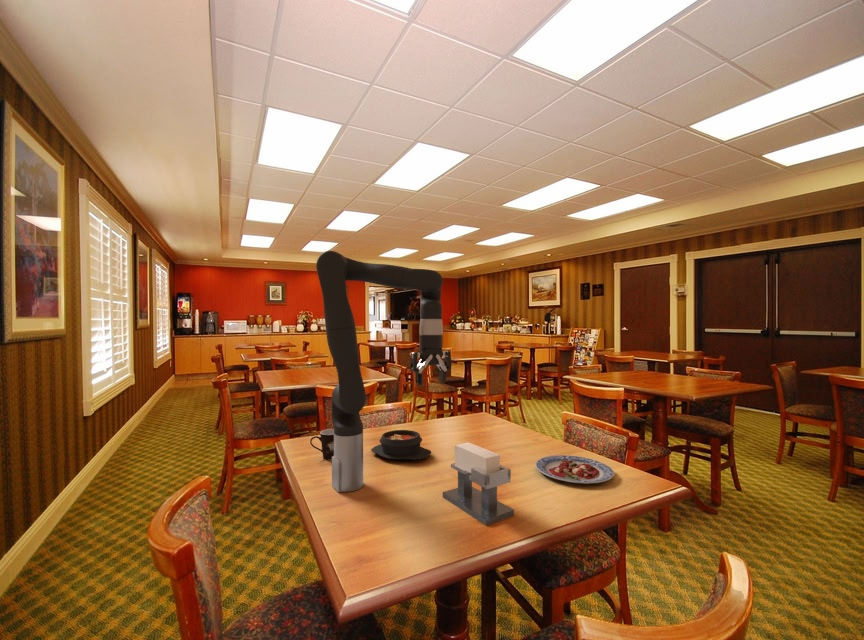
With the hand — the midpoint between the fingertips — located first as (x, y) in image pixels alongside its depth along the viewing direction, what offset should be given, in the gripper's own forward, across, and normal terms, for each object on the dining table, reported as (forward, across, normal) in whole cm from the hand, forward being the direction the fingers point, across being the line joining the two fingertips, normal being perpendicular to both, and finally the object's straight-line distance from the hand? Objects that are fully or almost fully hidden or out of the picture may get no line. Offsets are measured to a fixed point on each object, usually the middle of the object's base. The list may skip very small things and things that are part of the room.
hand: (431, 383), depth 126 cm
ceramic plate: (+33, -48, +17) cm, 61 cm away
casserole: (+33, -6, -32) cm, 47 cm away
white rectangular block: (+23, -4, +18) cm, 29 cm away
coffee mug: (+33, +19, -46) cm, 60 cm away
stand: (+33, -4, +18) cm, 38 cm away
